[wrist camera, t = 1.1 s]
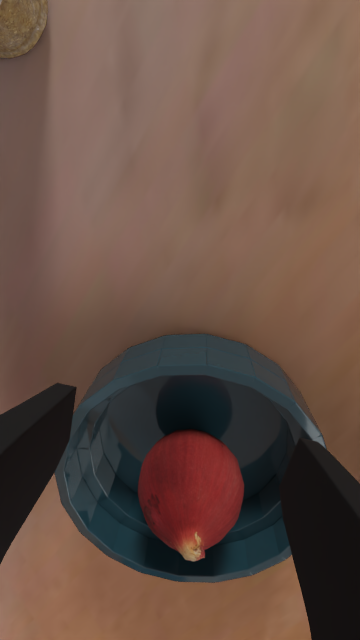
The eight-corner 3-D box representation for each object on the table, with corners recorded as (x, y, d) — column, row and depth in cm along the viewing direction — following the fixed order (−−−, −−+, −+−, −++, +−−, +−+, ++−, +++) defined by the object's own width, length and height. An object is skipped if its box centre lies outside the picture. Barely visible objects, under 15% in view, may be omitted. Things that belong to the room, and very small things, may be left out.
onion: (183, 487, 24) (173, 619, 16) (131, 430, 23) (95, 546, 15) (253, 449, 22) (278, 575, 15) (202, 387, 21) (201, 490, 14)
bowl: (352, 454, 23) (386, 513, 18) (177, 547, 27) (172, 613, 22) (212, 280, 19) (215, 303, 15) (37, 416, 23) (0, 464, 19)
